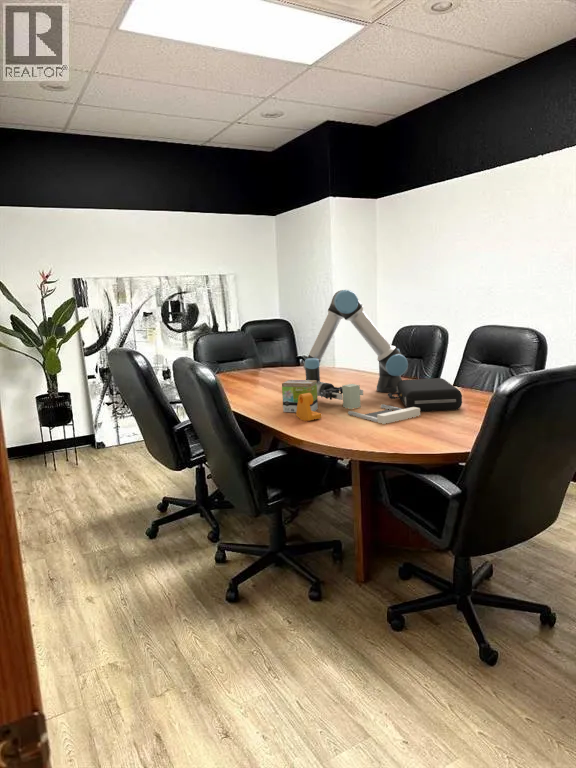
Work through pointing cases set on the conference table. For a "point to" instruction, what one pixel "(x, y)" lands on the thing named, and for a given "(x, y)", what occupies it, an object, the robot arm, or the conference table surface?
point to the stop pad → (378, 413)
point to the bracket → (306, 408)
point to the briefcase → (428, 394)
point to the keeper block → (351, 396)
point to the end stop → (398, 415)
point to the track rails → (371, 416)
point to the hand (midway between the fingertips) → (352, 394)
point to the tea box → (298, 393)
